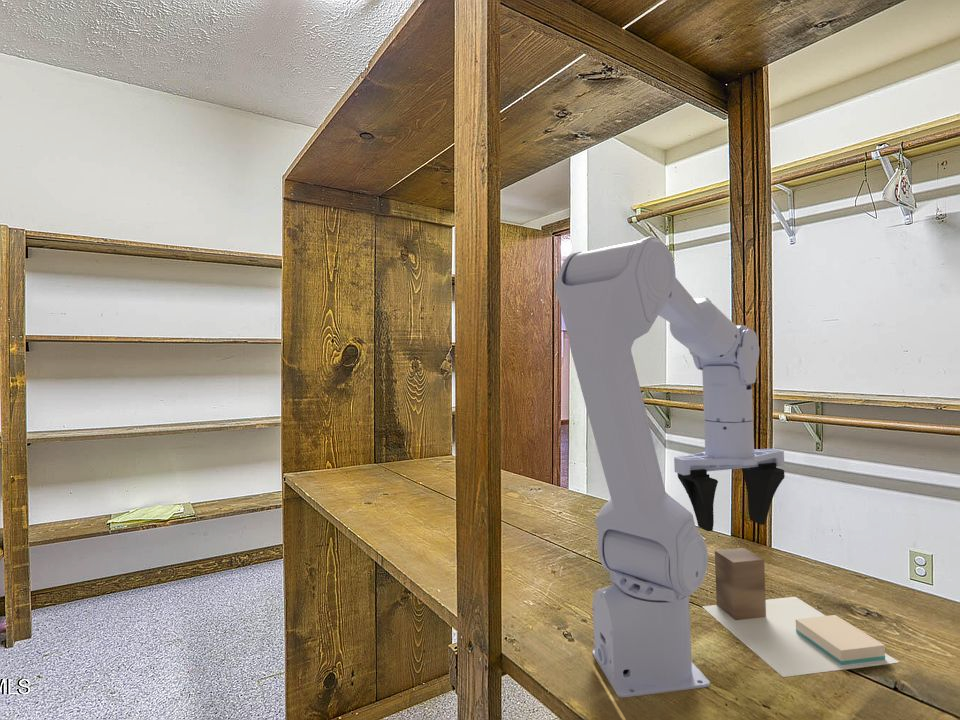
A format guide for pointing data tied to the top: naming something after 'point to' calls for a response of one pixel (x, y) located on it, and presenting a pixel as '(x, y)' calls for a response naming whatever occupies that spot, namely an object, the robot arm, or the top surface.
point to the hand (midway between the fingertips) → (731, 525)
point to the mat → (785, 638)
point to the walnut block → (740, 583)
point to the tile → (840, 639)
